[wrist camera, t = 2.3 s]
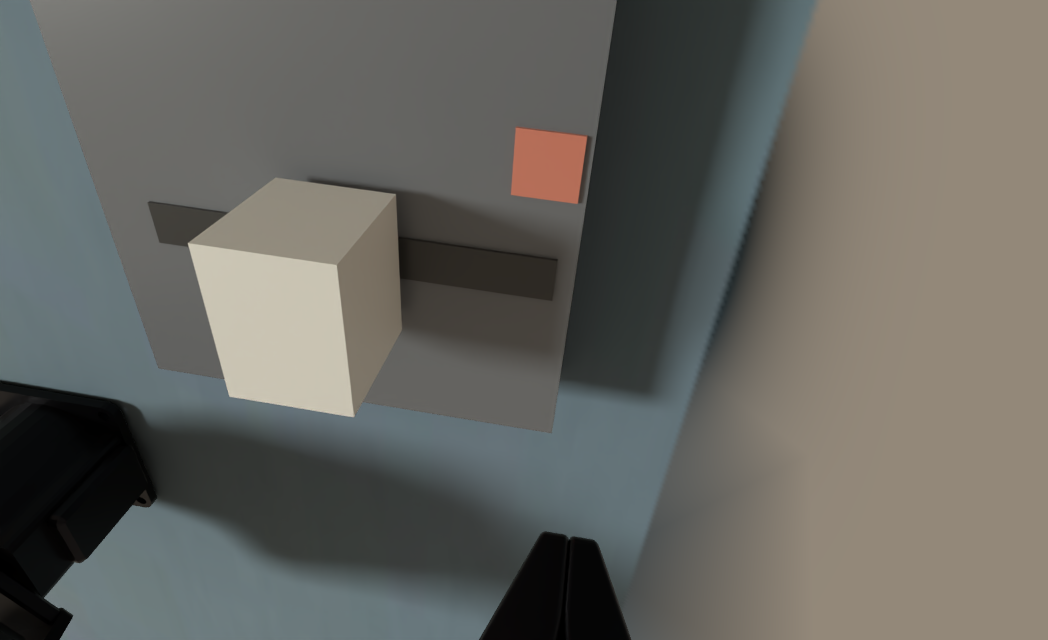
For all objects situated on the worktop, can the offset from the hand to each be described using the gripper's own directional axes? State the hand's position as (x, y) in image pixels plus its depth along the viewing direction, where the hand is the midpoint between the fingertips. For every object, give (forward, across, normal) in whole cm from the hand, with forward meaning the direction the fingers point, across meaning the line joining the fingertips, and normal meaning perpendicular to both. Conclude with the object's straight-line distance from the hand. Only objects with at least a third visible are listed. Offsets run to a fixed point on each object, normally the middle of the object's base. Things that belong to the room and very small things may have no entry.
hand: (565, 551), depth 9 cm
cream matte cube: (+7, +7, 0) cm, 10 cm away
